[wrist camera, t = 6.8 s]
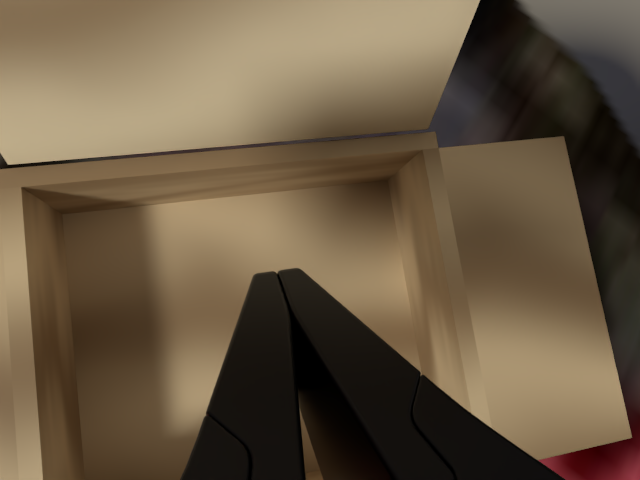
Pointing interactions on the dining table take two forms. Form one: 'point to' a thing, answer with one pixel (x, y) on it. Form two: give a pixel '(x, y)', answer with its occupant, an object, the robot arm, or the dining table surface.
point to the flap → (217, 72)
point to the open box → (317, 262)
